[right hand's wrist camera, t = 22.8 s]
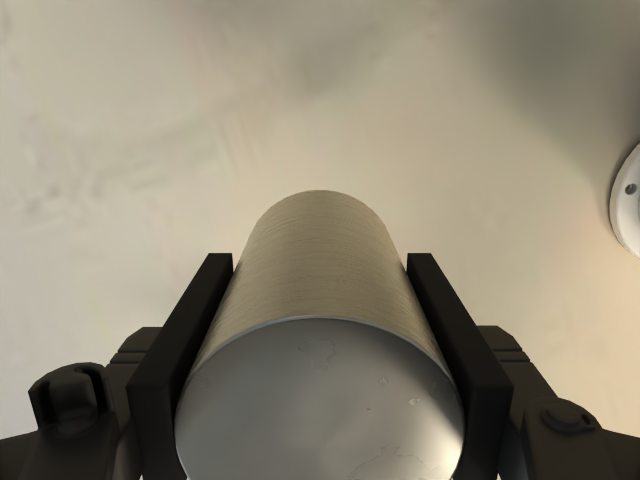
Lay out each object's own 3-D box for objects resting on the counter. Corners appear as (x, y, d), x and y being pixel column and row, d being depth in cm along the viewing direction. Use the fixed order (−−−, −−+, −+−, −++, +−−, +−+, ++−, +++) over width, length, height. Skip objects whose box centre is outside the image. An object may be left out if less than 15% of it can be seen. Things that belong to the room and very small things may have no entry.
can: (236, 310, 18) (160, 523, 9) (259, 174, 16) (189, 287, 7) (372, 336, 18) (418, 561, 10) (411, 207, 16) (511, 348, 8)
